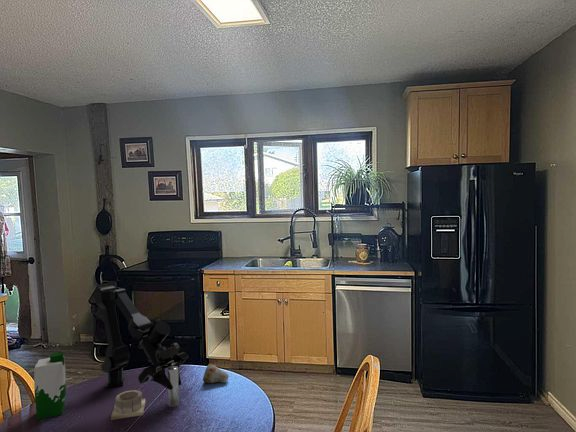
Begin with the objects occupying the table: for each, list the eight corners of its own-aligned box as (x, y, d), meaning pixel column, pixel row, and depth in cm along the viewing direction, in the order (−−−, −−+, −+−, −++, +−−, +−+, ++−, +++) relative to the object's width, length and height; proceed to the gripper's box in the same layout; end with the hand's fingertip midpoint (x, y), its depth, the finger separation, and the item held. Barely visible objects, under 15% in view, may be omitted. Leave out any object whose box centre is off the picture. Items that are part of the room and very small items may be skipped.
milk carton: (64, 415, 130) (62, 357, 130) (33, 421, 126) (31, 362, 126) (67, 403, 138) (66, 348, 138) (38, 409, 135) (36, 353, 134)
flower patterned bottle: (228, 386, 149) (214, 366, 148) (208, 395, 152) (195, 375, 150) (233, 374, 156) (221, 355, 155) (214, 382, 159) (202, 363, 157)
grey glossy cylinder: (168, 402, 137) (167, 367, 137) (179, 401, 138) (178, 365, 138) (168, 407, 133) (167, 371, 133) (179, 406, 134) (178, 369, 134)
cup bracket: (115, 405, 136) (115, 391, 136) (145, 401, 139) (145, 387, 139) (110, 420, 126) (110, 405, 126) (143, 415, 129) (142, 400, 129)
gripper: (142, 345, 129) (166, 385, 124) (184, 330, 145) (206, 364, 140) (128, 364, 134) (150, 403, 128) (170, 347, 150) (191, 381, 144)
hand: (176, 387), depth 135 cm, fingers closed on grey glossy cylinder, 4 cm apart
